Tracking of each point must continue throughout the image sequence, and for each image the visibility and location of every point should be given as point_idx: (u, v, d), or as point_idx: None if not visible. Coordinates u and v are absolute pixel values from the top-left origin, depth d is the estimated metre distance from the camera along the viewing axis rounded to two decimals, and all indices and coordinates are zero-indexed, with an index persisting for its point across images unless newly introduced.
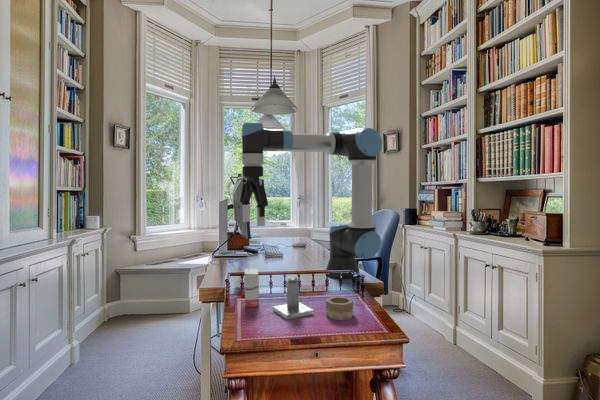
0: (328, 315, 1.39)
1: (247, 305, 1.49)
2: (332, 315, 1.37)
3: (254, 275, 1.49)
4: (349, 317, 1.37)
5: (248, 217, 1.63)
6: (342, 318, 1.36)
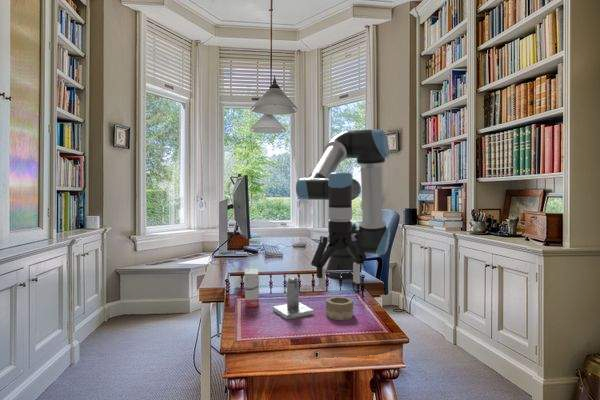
0: (328, 315, 1.39)
1: (247, 305, 1.49)
2: (332, 315, 1.37)
3: (254, 275, 1.49)
4: (349, 317, 1.37)
5: (356, 278, 1.42)
6: (342, 318, 1.36)
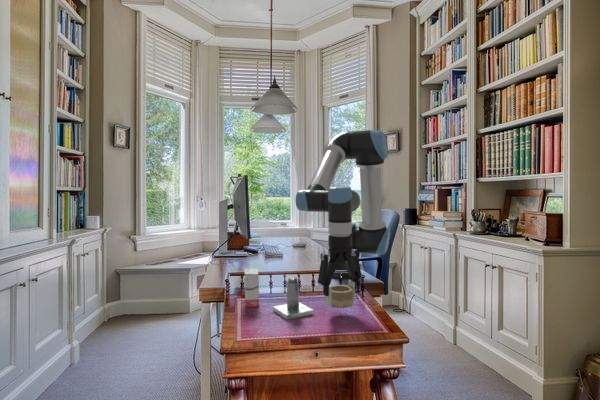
0: None
1: (247, 305, 1.49)
2: (332, 303, 1.37)
3: (254, 275, 1.49)
4: (349, 305, 1.38)
5: None
6: (342, 306, 1.37)
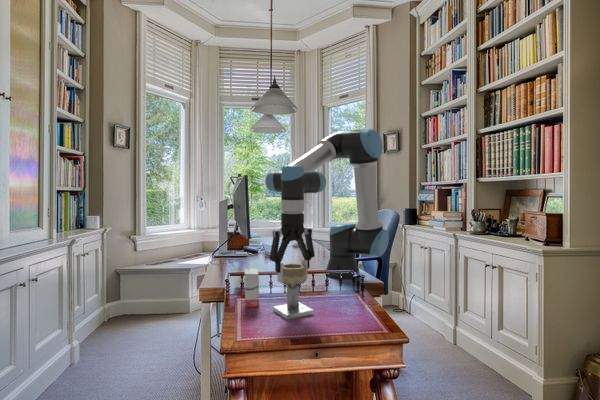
0: None
1: (247, 305, 1.49)
2: (284, 280, 1.39)
3: (254, 275, 1.49)
4: (301, 282, 1.39)
5: None
6: (293, 282, 1.38)
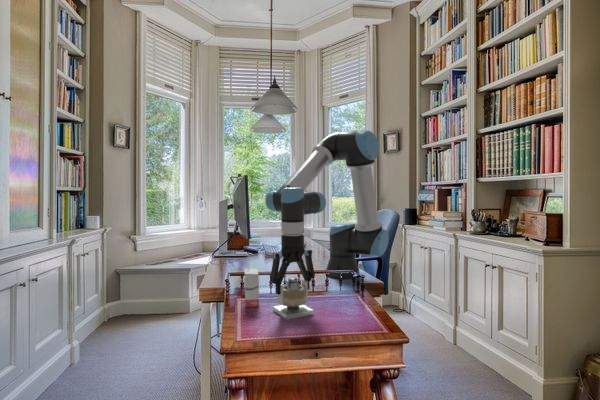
0: None
1: (247, 305, 1.49)
2: (284, 302, 1.40)
3: (254, 275, 1.49)
4: (301, 304, 1.40)
5: None
6: (294, 304, 1.39)
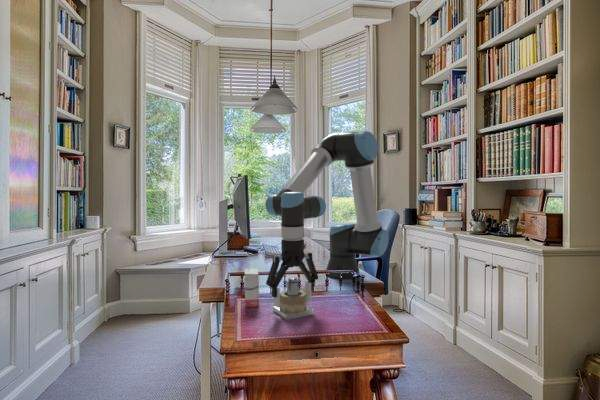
0: (281, 308, 1.42)
1: (247, 305, 1.49)
2: (284, 308, 1.40)
3: (254, 275, 1.49)
4: (301, 310, 1.40)
5: (308, 297, 1.45)
6: (294, 311, 1.39)
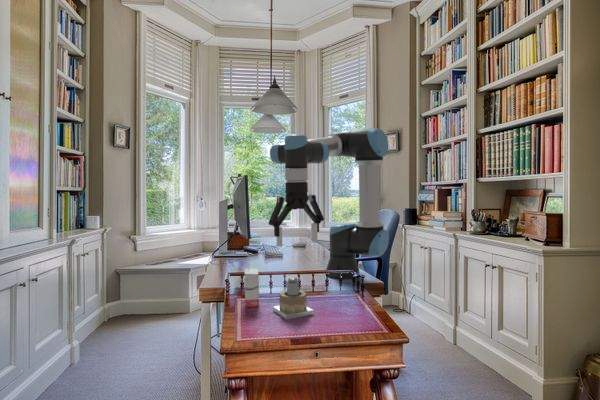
0: (281, 308, 1.42)
1: (247, 305, 1.49)
2: (284, 308, 1.40)
3: (254, 275, 1.49)
4: (301, 310, 1.40)
5: (314, 237, 1.48)
6: (294, 311, 1.39)
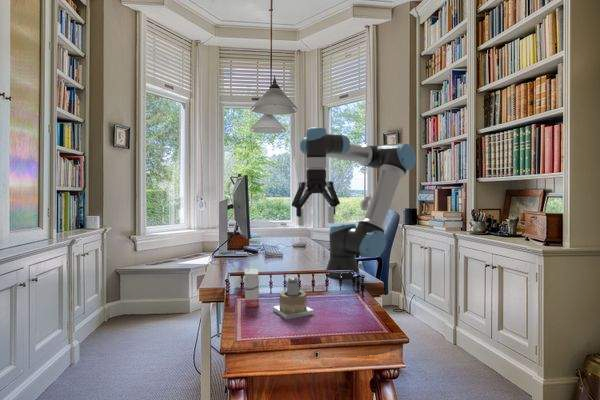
0: (281, 308, 1.42)
1: (247, 305, 1.49)
2: (284, 308, 1.40)
3: (254, 275, 1.49)
4: (301, 310, 1.40)
5: (331, 219, 1.67)
6: (294, 311, 1.39)
